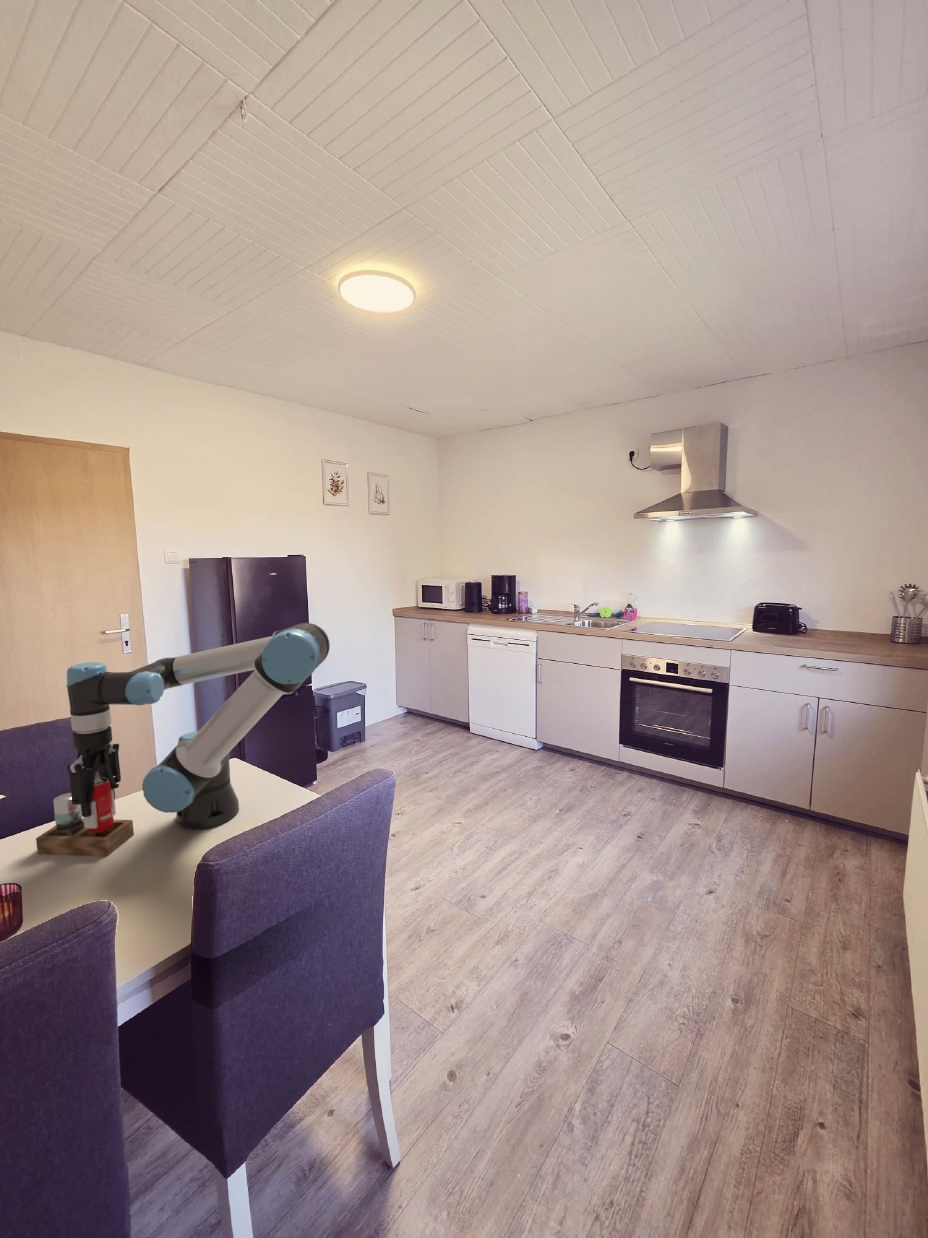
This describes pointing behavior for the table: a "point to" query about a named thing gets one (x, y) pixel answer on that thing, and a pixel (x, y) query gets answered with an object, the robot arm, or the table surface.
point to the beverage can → (103, 804)
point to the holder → (86, 840)
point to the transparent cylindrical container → (67, 816)
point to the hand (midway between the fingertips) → (100, 820)
